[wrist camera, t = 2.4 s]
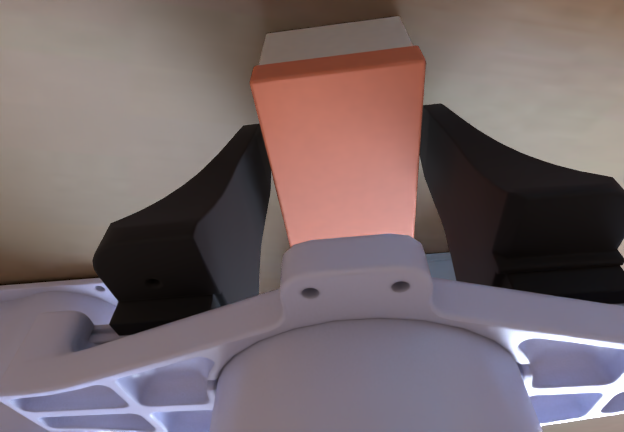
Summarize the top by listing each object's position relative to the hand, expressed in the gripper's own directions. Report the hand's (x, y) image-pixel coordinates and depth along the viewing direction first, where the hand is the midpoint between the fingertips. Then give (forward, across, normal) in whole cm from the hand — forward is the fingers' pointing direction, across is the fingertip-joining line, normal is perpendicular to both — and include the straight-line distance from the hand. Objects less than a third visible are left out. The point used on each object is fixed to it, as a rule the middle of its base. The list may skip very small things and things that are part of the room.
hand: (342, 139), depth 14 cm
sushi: (+1, 0, 0) cm, 1 cm away
